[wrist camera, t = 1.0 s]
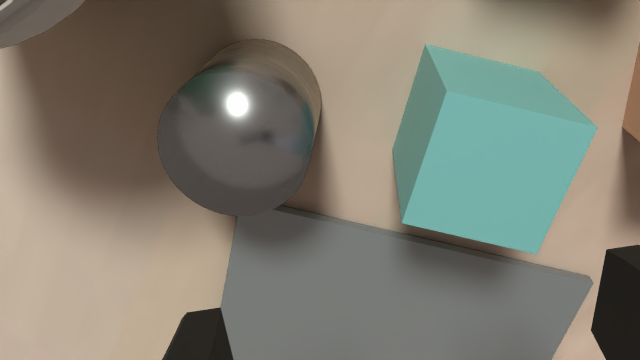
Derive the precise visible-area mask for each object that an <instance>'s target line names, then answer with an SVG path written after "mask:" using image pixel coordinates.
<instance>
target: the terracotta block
mask: <svg viewBox="0 0 640 360" xmlns="http://www.w3.org/2000/svg"><path fill="white" fill-rule="evenodd" d="M622 127H623V128H624V129H625V130H626V131H627V132H629V133H630V134H631V135H632V136H633V137H635V138H636V139H637V140H638V141H639V142H640V44H639V49H638V54H637V58H636V63H635V68H634V73H633V77H632V82H631V87H630V92H629V96H628V101H627V106H626V111H625V115H624V120H623V125H622Z"/></svg>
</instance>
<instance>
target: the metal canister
mask: <svg viewBox="0 0 640 360" xmlns="http://www.w3.org/2000/svg"><path fill="white" fill-rule="evenodd" d="M320 112H321V93H320V89H319V85H318V82H317V79H316V77H315V75H314V73H313V72H312V70H311V68H310V67H309V66H308V64H307V63H306V62H305V61H304V60H303V59H302V58H301V57H300V56H299V55H298V54H297V53H295V52H294V51H292V50H291V49H289V48H288V47H286V46H284V45H282V44H279V43H276V42H273V41H269V40H264V39H249V40H243V41H238V42H236V43H233V44H231V45H229V46H227V47H225V48H223V49H222V50H221V51H219V52H218V53H217V54H216V55H215V56H214V57H213V58H212V59H211V60H210V61H209V62H207V63H206V64H205V65H204V66H203V67H202V68H201V69H200V70H199V71H198V72H197V73H196V74H195V75H194V76H193V77H192V78H191V79H190V80H189V81H188V82H187V83H186V84H185V85H184V86H182V87H181V88H180V89H179V90H178V91H177V92H176V93H175V94H174V95H173V96H172V98H171V99H170V100H169V102H168V103H167V105H166V107H165V108H164V110H163V112H162V115H161V118H160V121H159V126H158V136H157V141H158V150H159V154H160V158H161V161H162V163H163V166H164V168H165V170H166V172H167V174H168V175H169V177H170V178H171V180H172V181H173V183H174V184H175V185H176V186H177V187H178V188H179V190H180V191H181V192H183V193H184V194H185V195H186V196H187V197H188V198H190V199H191V200H192V201H194V202H195V203H197V204H199V205H201V206H202V207H204V208H207V209H209V210H211V211H214V212H218V213H221V214H226V215H233V216H250V215H256V214H261V213H264V212H267V211H270V210H272V209H274V208H276V207H278V206H279V205H281V204H283V203H284V202H285V201H287V200H288V199H289V198H290V197H291V196H292V195H293V194H294V193H295V192H296V191H297V189H298V188H299V186H300V185H301V183H302V181H303V179H304V177H305V175H306V172H307V169H308V165H309V161H310V156H311V152H312V148H313V143H314V139H315V135H316V130H317V126H318V122H319V117H320Z"/></svg>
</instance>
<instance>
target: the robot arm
mask: <svg viewBox="0 0 640 360" xmlns="http://www.w3.org/2000/svg"><path fill="white" fill-rule="evenodd" d="M591 331H592V333H593V335H594V337H595V339H596V341H597V343H598V345H599V347H600V349H601V351H602V353H603V355H604V357H605V358H606V360H640V245H634V246H627V247H621V248H614V249H607V250H606V255H605V260H604V265H603V270H602V276H601V281H600V286H599V291H598V296H597V302H596V307H595V312H594V317H593V322H592V328H591ZM162 360H234V359H233V355H232V351H231V347H230V343H229V339H228V335H227V331H226V327H225V323H224V319H223V315H222V311H221V308H215V309H208V310H201V311H195V312H188V313H186V314H185V316H184V317H183V318H182V320H181V322H180V324H179V326H178V328H177V331H176V333H175V335H174V337H173V339H172V341H171V343H170V345H169V347H168V349H167V351H166V353H165V355H164V357H163V359H162Z"/></svg>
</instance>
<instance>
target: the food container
mask: <svg viewBox="0 0 640 360" xmlns="http://www.w3.org/2000/svg"><path fill="white" fill-rule="evenodd" d="M84 1H85V0H0V48H4V47H8V46H12V45H16V44H19V43H21V42H23V41H25V40H27V39H30V38H32V37H34V36H36V35H38V34H41V33H43V32H45V31H47V30H49V29H50V28H52V27H53V26H55V25H56V24H57V23H59V22H60V21H62V20H63V19H64V18H66V17H67V16H69V15H70V14H71V13H73V12H74V11H76V10H77V9H78V8H79V7H80V6H81V4H82V3H83V2H84Z"/></svg>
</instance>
